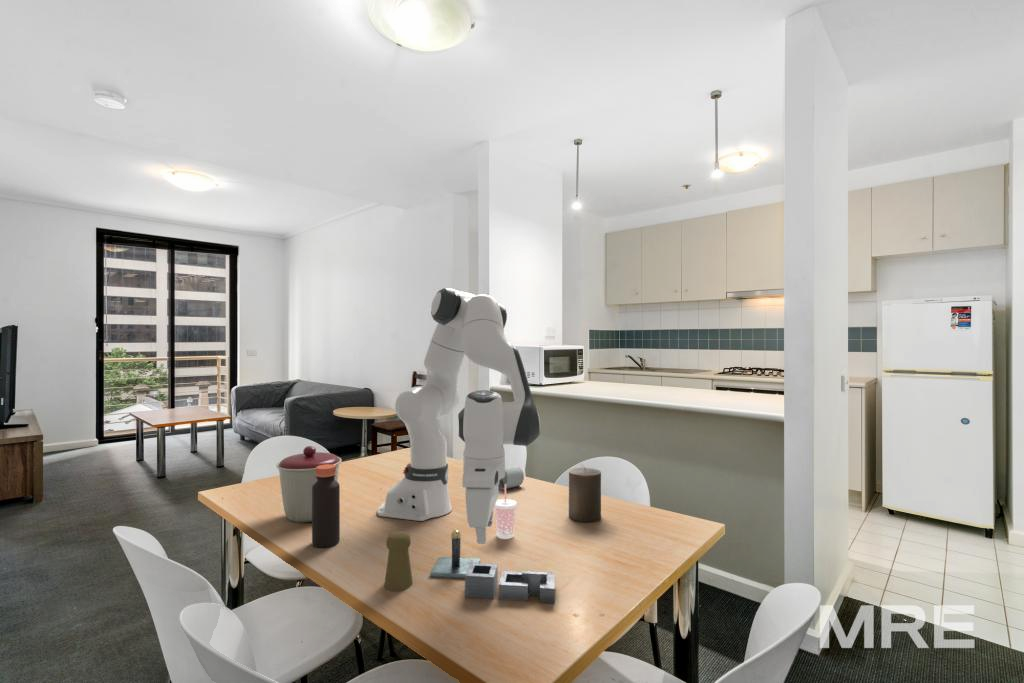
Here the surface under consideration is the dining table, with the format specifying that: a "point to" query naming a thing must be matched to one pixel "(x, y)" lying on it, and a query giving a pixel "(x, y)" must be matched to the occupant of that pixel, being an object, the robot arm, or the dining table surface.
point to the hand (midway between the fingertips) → (485, 533)
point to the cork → (398, 562)
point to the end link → (481, 580)
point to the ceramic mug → (511, 478)
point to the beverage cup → (505, 517)
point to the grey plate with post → (453, 561)
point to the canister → (302, 481)
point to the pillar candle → (585, 494)
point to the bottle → (325, 507)
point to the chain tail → (527, 585)
